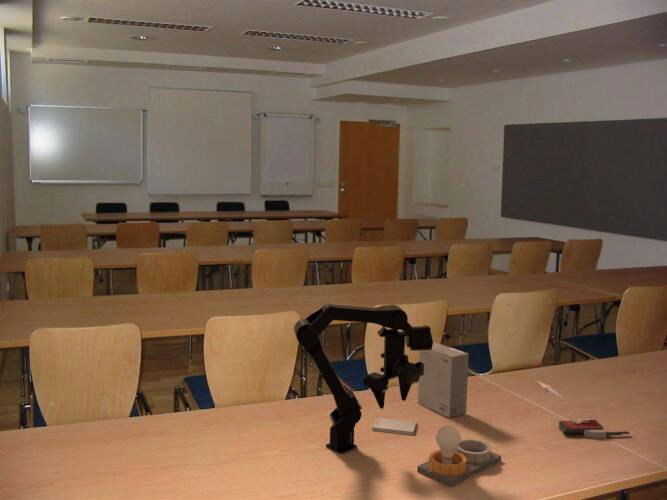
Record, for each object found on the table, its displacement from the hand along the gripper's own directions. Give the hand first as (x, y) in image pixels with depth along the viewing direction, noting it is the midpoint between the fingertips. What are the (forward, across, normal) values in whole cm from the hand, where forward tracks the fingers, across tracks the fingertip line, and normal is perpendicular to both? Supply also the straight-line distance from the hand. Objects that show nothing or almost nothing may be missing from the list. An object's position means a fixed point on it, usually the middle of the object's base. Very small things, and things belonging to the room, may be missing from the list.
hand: (392, 404), depth 194 cm
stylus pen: (+13, +75, -7) cm, 76 cm away
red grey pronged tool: (+13, +53, -33) cm, 64 cm away
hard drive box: (+12, +33, +8) cm, 36 cm away
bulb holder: (+12, +4, -21) cm, 24 cm away
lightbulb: (+11, -1, -21) cm, 23 cm away
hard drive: (+13, +10, +8) cm, 18 cm away
